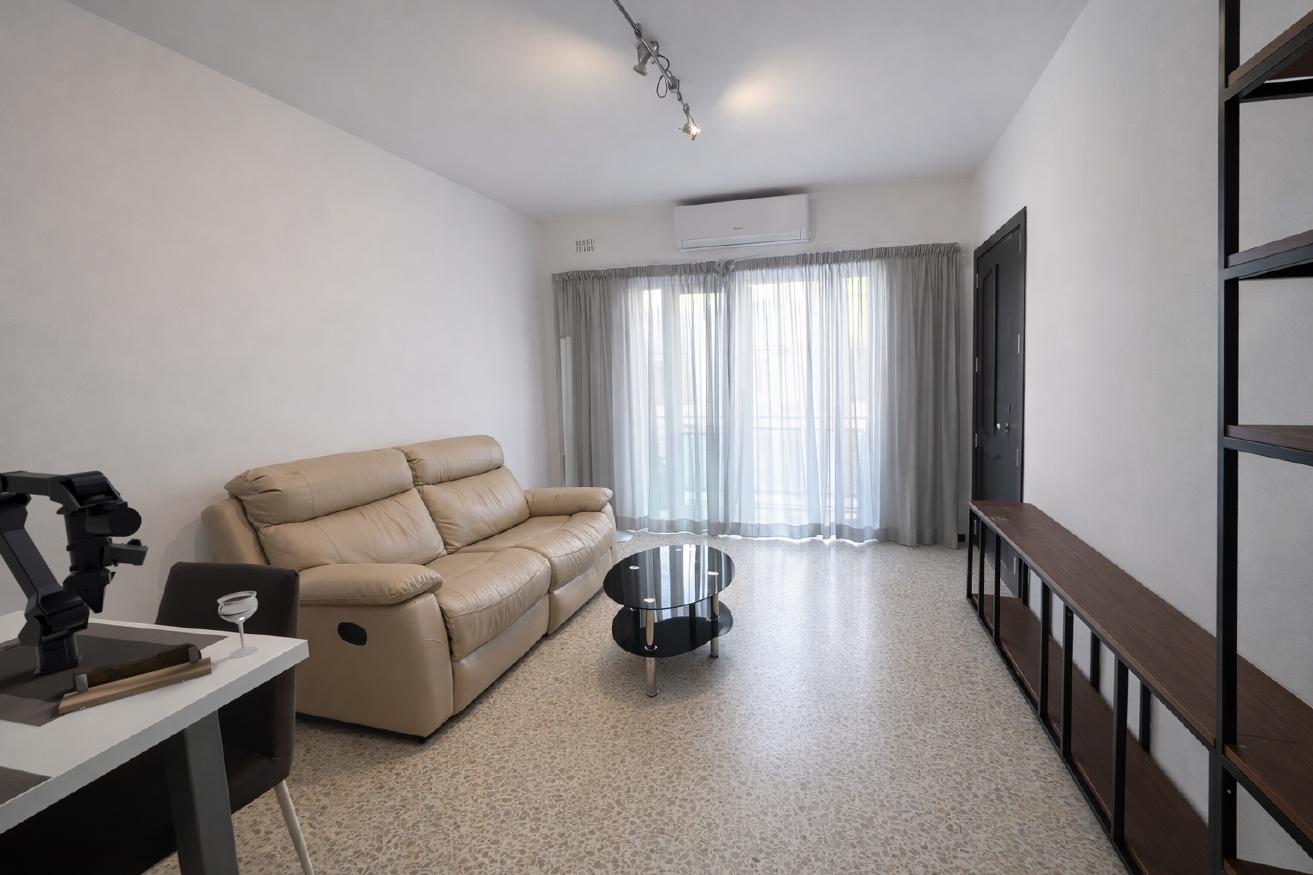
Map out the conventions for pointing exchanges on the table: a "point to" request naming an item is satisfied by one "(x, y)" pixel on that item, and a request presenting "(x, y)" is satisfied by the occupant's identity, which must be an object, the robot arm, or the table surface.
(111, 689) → the tool rack
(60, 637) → the robot arm
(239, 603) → the wineglass
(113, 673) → the hand tool
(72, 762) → the table surface
